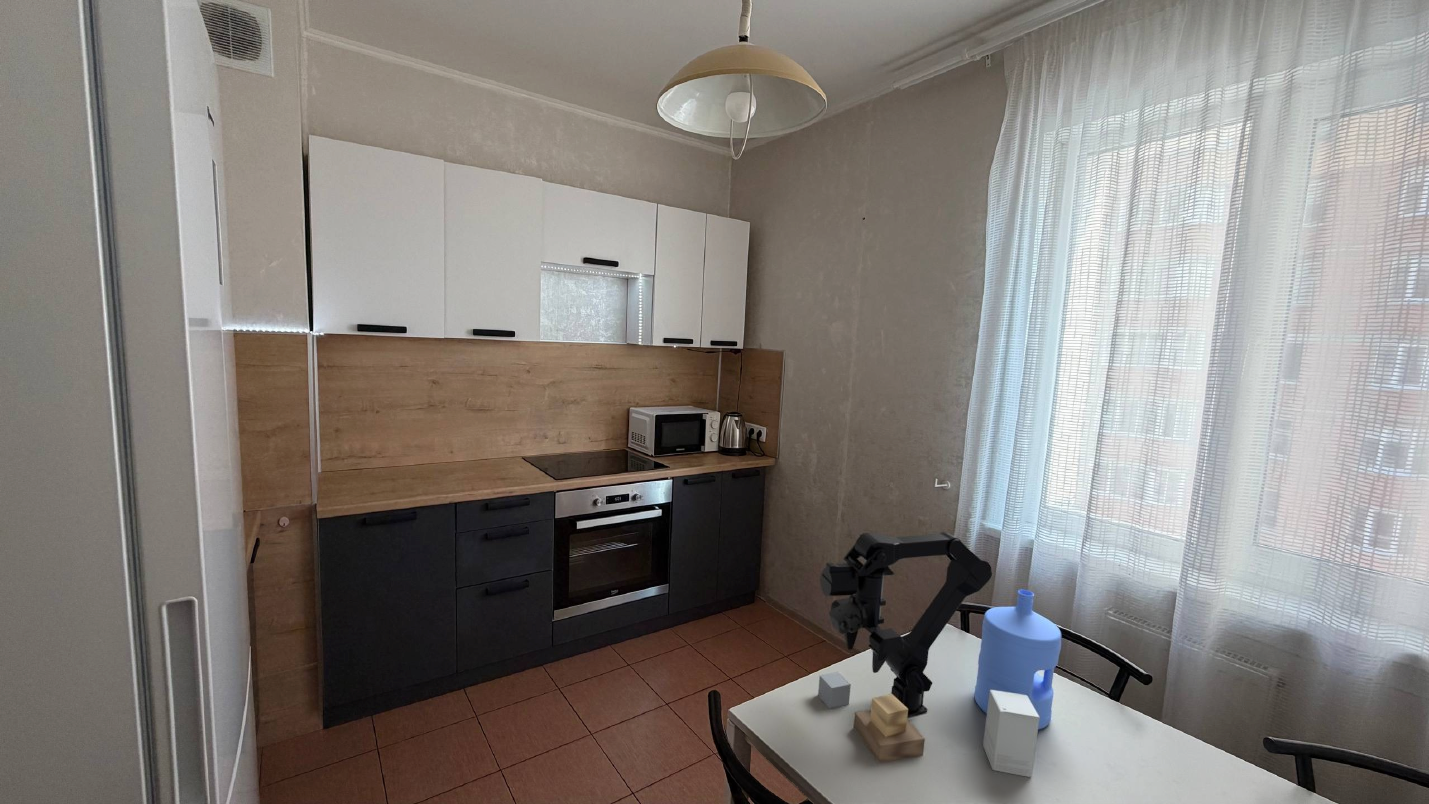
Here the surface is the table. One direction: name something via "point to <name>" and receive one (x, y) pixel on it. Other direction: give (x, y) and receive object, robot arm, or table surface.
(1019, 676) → the water jug
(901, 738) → the walnut block
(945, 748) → the table surface
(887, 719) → the oak cube
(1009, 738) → the supplement box
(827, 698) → the grey cube
